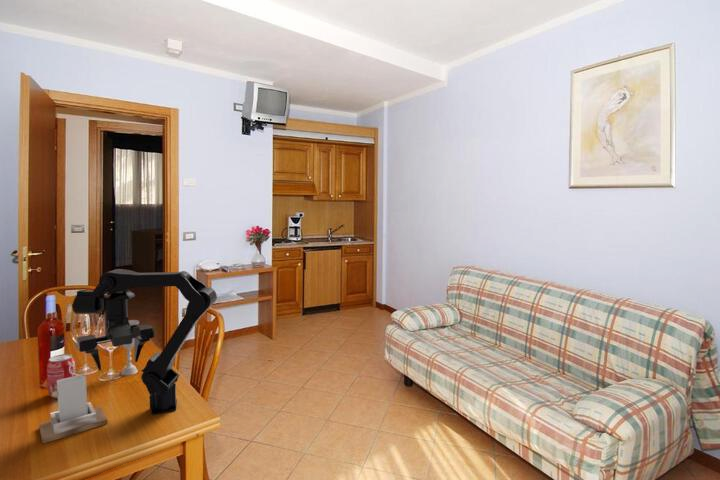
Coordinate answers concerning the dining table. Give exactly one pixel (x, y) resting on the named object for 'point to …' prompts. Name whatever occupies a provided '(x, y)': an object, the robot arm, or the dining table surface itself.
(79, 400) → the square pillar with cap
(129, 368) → the chalice
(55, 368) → the soda can
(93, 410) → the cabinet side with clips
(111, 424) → the dining table surface
